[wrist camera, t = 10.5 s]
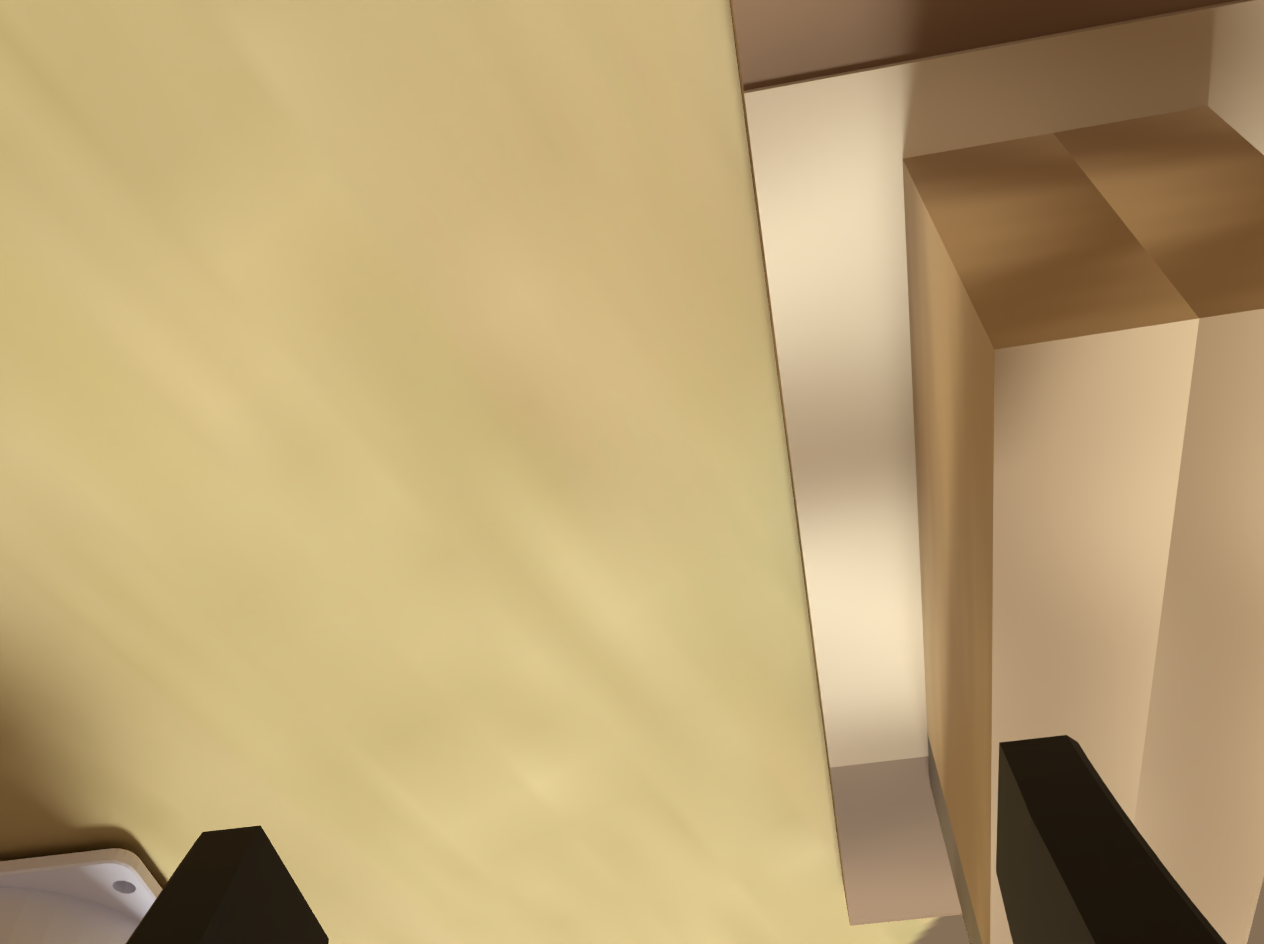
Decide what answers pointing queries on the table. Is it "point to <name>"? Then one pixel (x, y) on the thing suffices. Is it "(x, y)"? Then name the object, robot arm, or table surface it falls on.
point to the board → (879, 317)
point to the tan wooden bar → (1095, 485)
